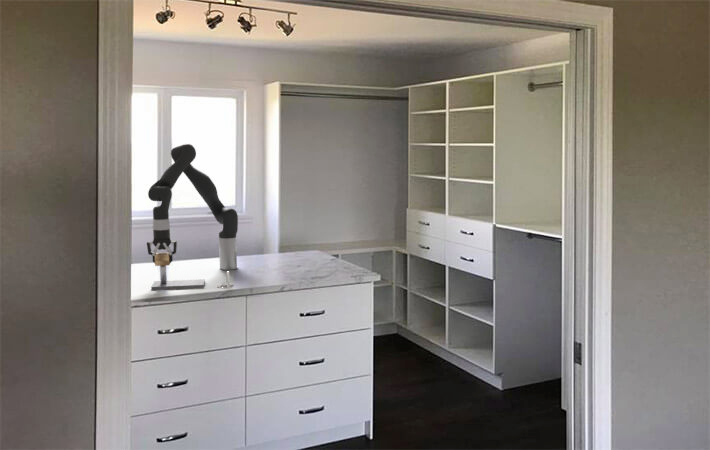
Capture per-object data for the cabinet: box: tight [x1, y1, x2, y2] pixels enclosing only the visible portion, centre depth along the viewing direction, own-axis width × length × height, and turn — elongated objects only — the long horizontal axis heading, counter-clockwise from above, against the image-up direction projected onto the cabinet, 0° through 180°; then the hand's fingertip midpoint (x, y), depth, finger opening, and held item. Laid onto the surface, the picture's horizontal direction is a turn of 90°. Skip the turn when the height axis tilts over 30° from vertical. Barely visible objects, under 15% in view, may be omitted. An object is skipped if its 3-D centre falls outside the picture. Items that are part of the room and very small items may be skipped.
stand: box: [216, 270, 235, 289], centre depth 305 cm, size 8×5×8 cm
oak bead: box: [154, 252, 171, 267], centre depth 303 cm, size 6×6×5 cm
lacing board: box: [150, 278, 206, 291], centre depth 306 cm, size 24×12×2 cm, turn 100°
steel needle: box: [159, 265, 168, 284], centre depth 304 cm, size 3×3×13 cm
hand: (162, 262), depth 303 cm, fingers closed on oak bead, 6 cm apart
